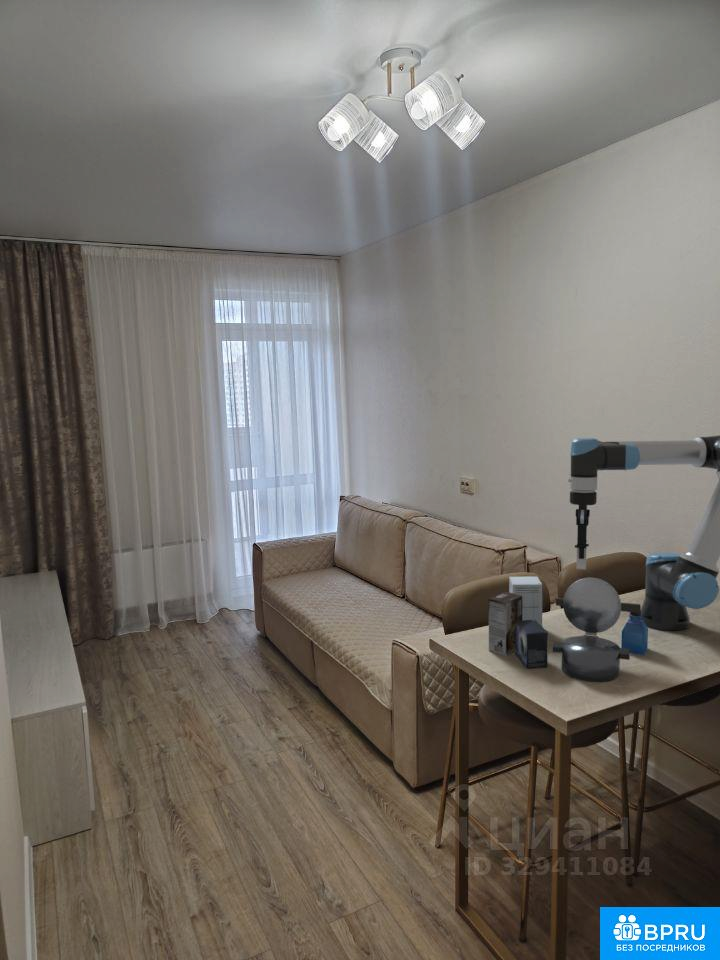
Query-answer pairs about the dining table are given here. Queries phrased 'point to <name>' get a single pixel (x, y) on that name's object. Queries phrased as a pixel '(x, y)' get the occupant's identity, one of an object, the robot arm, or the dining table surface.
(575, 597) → the lid
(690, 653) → the dining table surface
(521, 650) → the small box
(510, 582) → the supplement box
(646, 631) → the perfume bottle
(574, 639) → the pot
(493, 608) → the coffee box
